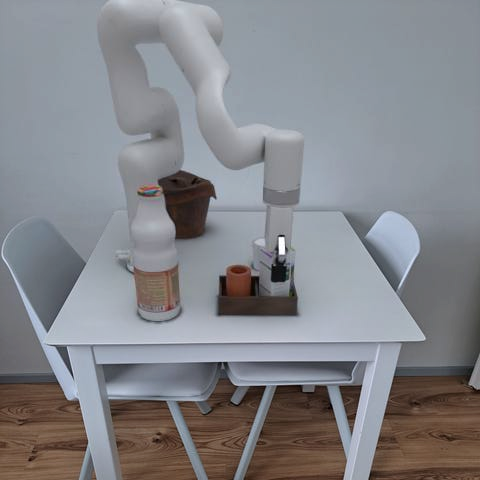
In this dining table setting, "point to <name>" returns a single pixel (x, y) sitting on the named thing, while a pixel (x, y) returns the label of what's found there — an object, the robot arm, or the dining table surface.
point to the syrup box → (265, 274)
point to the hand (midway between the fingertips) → (276, 272)
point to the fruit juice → (155, 257)
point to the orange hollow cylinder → (238, 280)
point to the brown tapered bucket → (187, 202)
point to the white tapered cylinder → (257, 251)
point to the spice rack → (255, 301)
